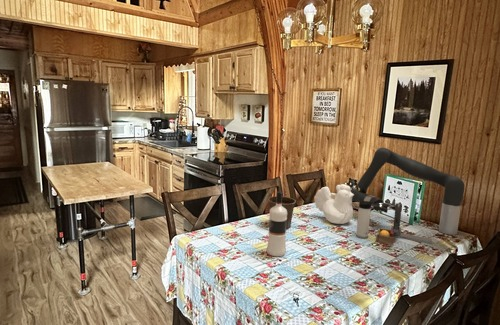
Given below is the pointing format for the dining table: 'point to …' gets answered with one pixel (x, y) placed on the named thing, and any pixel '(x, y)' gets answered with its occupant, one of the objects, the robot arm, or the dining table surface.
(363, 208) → the travel mug
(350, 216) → the decorative rooster
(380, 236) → the brown wooden block
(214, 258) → the dining table surface
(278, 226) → the vodka
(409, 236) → the rail
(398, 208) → the kicker
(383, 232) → the ball
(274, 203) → the plant pot
